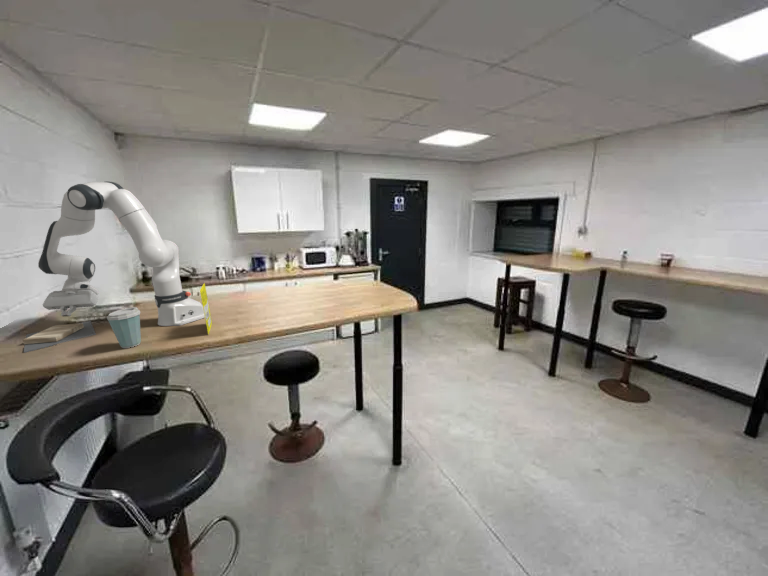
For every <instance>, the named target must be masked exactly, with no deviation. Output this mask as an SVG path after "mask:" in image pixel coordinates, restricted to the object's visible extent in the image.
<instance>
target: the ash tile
mask: <svg viewBox="0 0 768 576" xmlns="http://www.w3.org/2000/svg"><path fill="white" fill-rule="evenodd" d="M80 323H81V324H78V323H71V324H70V323H69V324H58V325H52V326H50V327H47V328H45V329H43V330H40V331H41V332H40V331H38V332H39V333H37V334H34V335H32V336H30V337H28V338H26V337H25V338H24V339H22V342H23V345H25V344H37V343H48V342H57V341H59V340H61V339H63V338H65V337H67V336H69V335H71V334H73V333H74V332H76V331H78V330H80V329H82V328H84V325H83V322H80Z"/></svg>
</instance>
